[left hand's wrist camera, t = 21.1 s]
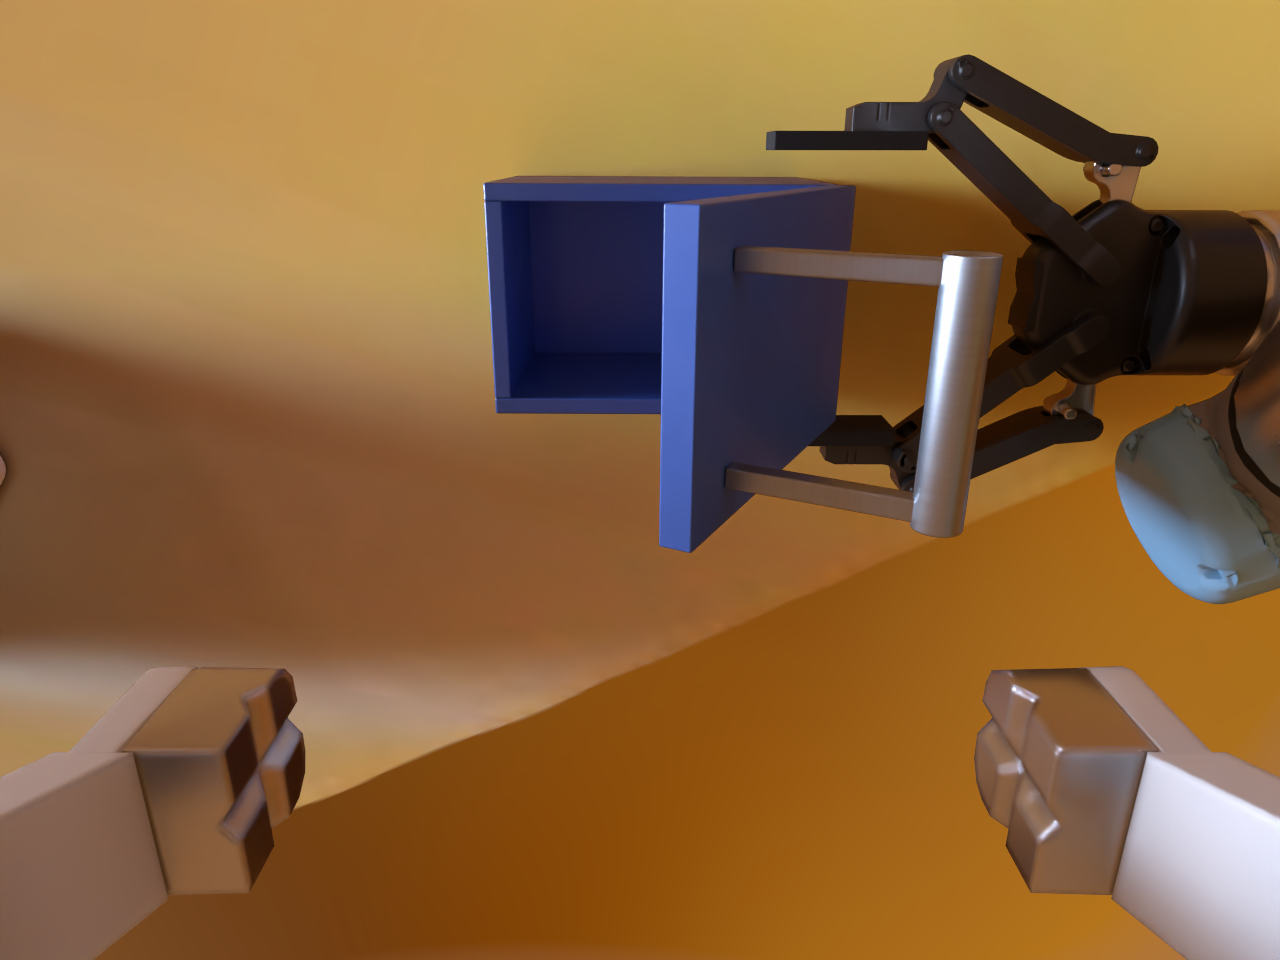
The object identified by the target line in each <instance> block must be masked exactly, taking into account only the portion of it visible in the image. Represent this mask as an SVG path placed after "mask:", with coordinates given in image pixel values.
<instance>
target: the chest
mask: <svg viewBox="0 0 1280 960" xmlns="http://www.w3.org/2000/svg"><path fill="white" fill-rule="evenodd" d="M826 185H837V184H831V183H826V182H820V181H814V180H808V179H803V178H797V177H630V176H515V177H510V178H505V179H501V180H496V181H491V182H486V183H484V185H483V186H484V200H485V203H484V204H485V222H486V241H487V259H488V277H489V295H490V313H491V331H492V350H493V368H494V386H495V397H496V399H495V404H496V413H534V414H661V385H662V313H663V242H664V204H665V203H671V202H680V201H689V200H698V199H708V198H717V197H726V196H735V195H744V194H753V193H762V192H772V191H781V190H790V189H799V188H808V187H817V186H826Z"/></svg>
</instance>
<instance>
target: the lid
mask: <svg viewBox="0 0 1280 960" xmlns="http://www.w3.org/2000/svg"><path fill="white" fill-rule="evenodd" d="M855 191H856V186H854V185H826V186H817V187H808V188H799V189H790V190H781V191H772V192H762V193H753V194H744V195H735V196H726V197H717V198H708V199H698V200H689V201H680V202H671V203H665V204H664V242H663V313H662V385H661V456H660V528H659V545H660V546H661V547H666V548H670V549H675V550H679V551H684V552H688V553H691V552H693V551H694V550H695V549H696V548H697V547H698V546H699V545H700V544H701V543H702V542H704V541H705V540H706V539H707V538H708V537H709V536H710V535H711V534H712V533H713V532H714V531H716V530H717V529H718V528H719V527H720V526H721V525H722V524H723V523H724V522H725V521H726V520H727V519H729V518H730V517H731V516H732V515H733V514H734V513H735V512H736V511H737V510H738V509H739V508H741V507H742V506H743V505H744V504H745V503H746V502H747V501H748V500H749V499H750V498H751V497H753V496H754V495H755V494H761V495H767V496H772V497H778V498H783V499H789V500H794V501H799V502H805V503H810V504H816V505H821V506H827V507H832V508H838V509H843V510H848V511H854V512H859V513H865V514H870V515H876V516H881V517H887V518H892V519H897V520H903V521H908V522H910V526H911V528H912V529H913V530H915V531H916V532H918V533H921V534H924V535H927V536H932V537H939V538H949V537H955V536H958V535H960V534H961V533H962V531H963V525H964V519H965V512H966V505H967V498H968V491H969V485H970V478H971V471H972V464H973V457H974V451H975V444H976V437H977V430H978V423H979V417H980V410H981V403H982V396H983V389H984V383H985V376H986V369H987V362H988V355H989V349H990V342H991V335H992V328H993V321H994V315H995V308H996V301H997V294H998V288H999V281H1000V274H1001V267H1002V260H1003V255H1002V254H1000V253H995V252H987V251H970V250H956V251H946V252H944V253H943V257H942V256H924V255H905V254H887V253H869V252H851V251H850V249H851V237H852V226H853V214H854V203H855ZM848 280H851V281H866V282H880V283H895V284H909V285H923V286H938V287H939V290H938V298H937V306H936V314H935V322H934V330H933V338H932V346H931V354H930V362H929V371H928V379H927V387H926V395H925V403H924V411H923V419H922V427H921V435H920V443H919V452H918V460H917V468H916V476H915V484H914V492H908V491H902V490H897V489H891V488H885V487H879V486H873V485H867V484H861V483H855V482H849V481H843V480H837V479H832V478H826V477H820V476H814V475H808V474H802V473H796V472H790V471H784V470H782V469H783V468H784V467H785V466H786V465H787V464H788V463H790V462H791V461H792V460H793V459H794V458H795V457H796V456H797V455H798V454H799V453H800V452H802V451H803V450H804V449H805V448H806V447H807V446H808V445H809V444H810V443H811V442H812V441H814V440H815V439H816V438H817V437H818V436H819V435H820V434H821V433H822V432H823V431H824V430H826V429H827V428H828V427H829V426H830V425H831V424H832V423H833V422H834V421H835V420H836V410H837V398H838V387H839V375H840V364H841V352H842V341H843V329H844V318H845V306H846V295H847V283H848Z"/></svg>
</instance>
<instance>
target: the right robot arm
mask: <svg viewBox="0 0 1280 960" xmlns="http://www.w3.org/2000/svg"><path fill="white" fill-rule="evenodd" d="M963 102H965V103H967V104H969V105H970V106H972V107H974V108H976V109H978V110H979V111H981V112H983V113H985V114H987V115H988V116H990V117H992V118H994V119H996V120H997V121H999V122H1001V123H1003V124H1005V125H1006V126H1008V127H1010V128H1012V129H1014V130H1015V131H1017V132H1019V133H1021V134H1023V135H1025V136H1026V137H1028V138H1030V139H1032V140H1034V141H1035V142H1037V143H1039V144H1041V145H1043V146H1044V147H1046V148H1048V149H1050V150H1052V151H1053V152H1055V153H1057V154H1059V155H1061V156H1063V157H1065V158H1067V159H1070V160H1074V161H1077V162H1083V163H1085V165H1084V167H1083V171H1084V175H1085V177H1086V179H1087V180H1088V181H1090V182H1092V183H1095V184H1096V185H1097V186H1098V187H1099V189H1100V199H1099V200H1096V201H1094V202H1092V203H1091V204H1089V205H1088V206H1086V207H1085V208H1083V209H1082V210H1080V211H1079V212H1077V213H1076V214H1074V215H1073V216H1071V215H1070V214H1069V213H1068V212H1067V211H1066V210H1065V209H1064V208H1062V207H1061V206H1059V205H1058V204H1056V203H1054V202H1053V201H1052V200H1051V199H1050V198H1049V197H1048V196H1047V195H1046V194H1045V193H1044V192H1043V191H1042V190H1041V189H1039V188H1038V187H1037V186H1036V185H1035V184H1034V183H1033V182H1032V181H1031V180H1030V179H1029V178H1028V177H1027V176H1026V175H1025V174H1024V173H1023V172H1022V171H1021V170H1020V169H1019V168H1018V167H1017V166H1016V165H1015V164H1014V163H1013V162H1012V161H1011V160H1010V159H1009V158H1008V157H1007V156H1006V155H1005V154H1004V153H1003V152H1002V151H1001V150H1000V149H999V148H998V147H997V146H996V145H995V144H994V143H993V142H992V141H991V140H990V139H989V138H988V137H987V136H986V135H985V134H984V133H983V132H982V131H981V130H980V129H979V128H978V127H977V126H976V125H975V124H974V123H973V122H972V121H971V120H970V119H969V118H968V117H967V116H966V115H965V114H964V113H963V112H962V111H961V110H960V108H961V106H962V104H963ZM928 140H929V141H930V142H931V143H932V144H933V145H934V146H935V147H936V148H937V149H938V150H939V151H940V152H941V153H942V154H943V155H944V156H945V157H946V158H947V159H948V160H949V161H950V162H951V163H952V164H953V165H955V166H956V167H957V168H958V169H959V170H960V171H961V172H962V173H963V174H964V175H965V176H966V177H967V178H968V179H969V180H970V181H971V182H972V183H973V184H974V185H975V186H976V187H977V188H978V189H979V190H980V191H981V192H982V193H983V194H984V195H985V196H987V197H988V198H989V199H990V200H991V201H992V202H993V203H994V204H995V205H996V206H997V207H998V208H999V209H1000V210H1001V211H1002V212H1003V213H1004V214H1005V215H1006V216H1007V217H1008V218H1009V219H1010V220H1011V223H1012V225H1013V226H1014V227H1015V228H1016V229H1017V230H1018V231H1019V232H1020V233H1021V234H1022V235H1023V236H1024V237H1025V238H1026V239H1028V240H1029V241H1030V242H1031V243H1032V244H1031V245H1030V246H1029V247H1028V248H1027V250H1026V251H1025V253H1024V255H1023V257H1022V258H1018V259H1017V266H1016V272H1015V276H1016V285H1017V292H1016V295H1015V297H1014V300H1013V302H1012V304H1011V307H1010V313H1009V319H1008V323H1009V324H1011V325H1012V328H1013V332H1014V334H1015V335H1014V336H1012V337H1011V338H1009V339H1008V340H1007V341H1005V342H1004V343H1002V344H1001V345H1000V346H998V347H997V348H996V349H995V350H994V351H993V352H992V355H991V356H990V358H988V362H987V369H986V376H985V383H984V389H983V396H982V403H981V410H980V417H979V418H981V417H982V416H984V415H985V414H986V413H988V412H989V411H991V410H992V409H993V408H995V407H996V406H998V405H999V404H1001V403H1002V402H1003V401H1005V400H1006V399H1008V398H1009V397H1011V396H1012V395H1013V394H1015V393H1016V392H1018V391H1019V390H1021V389H1022V388H1025V387H1030V386H1033V385H1035V384H1037V383H1039V382H1040V381H1042V380H1043V379H1044V378H1046V377H1047V376H1049V375H1050V374H1052V373H1053V372H1054V371H1056V372H1058V373H1059V374H1060V375H1061V376H1063V377H1064V378H1066V379H1067V384H1066V386H1065V388H1064V389H1063V390H1062V391H1060V392H1059V393H1057V394H1054V395H1051V396H1048V397H1046V398H1045V399H1044V402H1043V403H1044V406H1039V407H1034V408H1030V409H1026V410H1023V411H1021V412H1018V413H1016V414H1013V415H1011V416H1009V417H1006V418H1004V419H1002V420H999V421H997V422H994V423H992V424H990V425H987V426H985V427H983V428H980V429H978V430H977V437H976V444H975V451H974V457H973V464H972V471H971V478H970V479H972V478H975V477H977V476H980V475H982V474H984V473H987V472H989V471H992V470H994V469H996V468H999V467H1001V466H1003V465H1006V464H1008V463H1011V462H1013V461H1015V460H1018V459H1020V458H1023V457H1025V456H1027V455H1030V454H1032V453H1035V452H1037V451H1039V450H1042V449H1044V448H1047V447H1049V446H1051V445H1054V444H1061V443H1072V442H1084V441H1091V440H1095V439H1096V438H1098V437H1099V436H1100V435H1101V433H1102V431H1103V423H1102V421H1101V420H1100V419H1098V418H1097V417H1095V416H1094V404H1095V393H1096V384H1097V383H1099V382H1101V381H1103V380H1105V379H1107V378H1110V377H1113V376H1117V375H1208V374H1211V373H1214V372H1215V373H1217V374H1220V375H1236V376H1235V377H1234V379H1233V380H1232V381H1231V383H1230V384H1229V386H1228V387H1227V388H1226V389H1225V390H1224V391H1222V392H1220V393H1219V394H1217V395H1215V396H1214V397H1212V398H1210V399H1207V400H1204V401H1202V402H1199V403H1196V404H1192V405H1189V406H1187V405H1185V404H1184V405H1182V406H1178V407H1175V408H1174V410H1173V411H1172V412H1171V413H1169V414H1167V415H1165V416H1163V417H1160V418H1158V419H1156V420H1154V421H1152V422H1150V423H1148V424H1146V425H1144V426H1142V427H1139V428H1137V429H1136V430H1134V431H1132V432H1131V433H1130V434H1128V435H1127V436H1126V437H1125V438H1124V439H1123V441H1122V442H1121V444H1120V446H1119V448H1118V450H1117V454H1116V459H1115V477H1116V483H1117V488H1118V492H1119V496H1120V499H1121V502H1122V505H1123V508H1124V510H1125V513H1126V515H1127V518H1128V520H1129V522H1130V524H1131V526H1132V528H1133V530H1134V532H1135V534H1136V536H1137V537H1138V539H1139V541H1140V543H1141V544H1142V546H1143V547H1144V549H1145V551H1146V552H1147V554H1148V555H1149V557H1150V558H1151V560H1152V561H1153V562H1154V564H1155V565H1156V566H1157V567H1158V569H1159V570H1160V571H1161V572H1162V573H1163V574H1164V575H1165V576H1166V577H1167V578H1168V579H1169V580H1170V581H1171V582H1172V583H1173V584H1174V585H1175V586H1176V587H1177V588H1179V589H1180V590H1181V591H1183V592H1184V593H1186V594H1188V595H1190V596H1191V597H1193V598H1195V599H1198V600H1201V601H1204V602H1207V603H1213V604H1225V603H1231V602H1235V601H1238V600H1242V599H1245V598H1248V597H1251V596H1255V595H1258V594H1261V593H1265V592H1268V591H1271V590H1274V589H1278V588H1280V211H1275V210H1252V211H1241V212H1239V213H1234V212H1232V211H1227V210H1143V209H1141V208H1138V207H1137V206H1135V205H1134V204H1133V203H1131V201H1132V197H1133V194H1134V190H1135V186H1136V183H1137V179H1138V176H1139V172H1140V169H1141V167H1142V166H1147V165H1149V164H1151V163H1152V162H1153V161H1154V160H1155V158H1156V156H1157V154H1158V145H1157V142H1156V141H1155V140H1154V139H1153V138H1150V137H1144V136H1134V135H1125V134H1115V133H1109V132H1108V131H1106V130H1104V129H1102V128H1100V127H1099V126H1097V125H1095V124H1093V123H1092V122H1090V121H1088V120H1086V119H1085V118H1083V117H1081V116H1079V115H1077V114H1076V113H1074V112H1072V111H1070V110H1069V109H1067V108H1065V107H1063V106H1062V105H1060V104H1058V103H1056V102H1054V101H1053V100H1051V99H1049V98H1047V97H1046V96H1044V95H1042V94H1040V93H1038V92H1037V91H1035V90H1033V89H1031V88H1030V87H1028V86H1026V85H1024V84H1023V83H1021V82H1019V81H1017V80H1015V79H1014V78H1012V77H1010V76H1008V75H1007V74H1005V73H1003V72H1001V71H1000V70H998V69H996V68H994V67H992V66H991V65H989V64H987V63H985V62H984V61H982V60H980V59H978V58H977V57H975V56H972V55H963V56H960V57H956V58H953V59H950V60H946V61H944V62H942V63H940V64H939V65H938V66H937V68H936V69H935V72H934V81H933V83H932V85H931V88H930V90H929V92H928V94H927V95H926V96H925V98H924V99H922V100H921V101H920V102H864V103H860V104H856V105H854V106H852V107H849V108H847V109H846V120H845V131H772V132H767V139H766V150H927V143H928ZM923 411H924V405H923V406H922V407H920V408H919V409H918V410H916V411H915V412H913V413H912V414H911V415H909V416H908V417H907V418H905V419H904V420H902V421H901V422H900V423H898V424H897V425H895V426H894V427H892V426H891V425H890V424H889V423H888V422H887V421H886V420H885V419H884V418H883V416H882V415H836V420H835V421H834V422H833V423H832V424H831V425H830V426H829V427H828V428H827V429H826V430H824V431H823V432H822V433H821V434H820V435H819V436H818V437H817V438H816V439H815V440H814V441H812V442H811V443H810V444H809V445H808V446H820V453H821V454H822V456H823V458H824V459H825V460H826V461H828V462H831V463H833V464H885V465H888V466H889V468H890V471H891V473H890V476H891V479H892V481H893V482H894V484H895V485H896V486H897V487H898V489H899V490H902V491H908V492H914V484H915V476H916V468H917V460H918V452H919V443H920V435H921V427H922V419H923Z"/></svg>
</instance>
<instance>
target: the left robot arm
mask: <svg viewBox="0 0 1280 960" xmlns="http://www.w3.org/2000/svg"><path fill="white" fill-rule="evenodd" d="M5 474H6V466H5V463H4V461H3V459H2V457H1V455H0V486H1V484H2V482H3V480H4V478H5ZM296 702H297V697H296V692H295V687H294V682H293V677H292V676H291V675H290V674H289V673H288V672H287V671H286V670H285V669H272V668H222V667H201V668H198V667H157V668H153V669H149V670H147V671H146V672H145V673H144V674H143V675H142V676H141V677H140V678H139V679H138V680H137V681H136V682H135V683H134V684H133V685H132V687H131V688H130V689H129V690H128V691H127V692H126V693H125V694H124V695H123V696H122V697H121V698H120V699H119V700H118V701H117V702H116V703H115V704H114V705H113V706H112V707H111V708H110V709H109V710H108V712H107V713H106V714H105V715H104V716H103V717H102V718H101V719H100V720H99V721H98V722H97V723H96V724H95V725H94V726H93V727H92V728H91V729H90V730H89V731H88V732H87V733H86V734H85V735H84V737H83V738H82V739H81V740H80V741H79V742H78V743H77V744H76V745H75V746H74V747H73V748H72V749H71V750H70V751H69V752H54V753H52V754H49V755H47V756H45V757H43V758H41V759H39V760H37V761H34V762H32V763H30V764H28V765H26V766H24V767H22V768H19V769H17V770H15V771H13V772H11V773H9V774H7V775H4V776H2V777H0V960H94V959H95V958H96V957H97V956H99V955H100V954H101V953H102V952H104V951H105V950H106V949H107V948H109V947H110V946H111V945H112V944H114V943H115V942H116V941H117V940H119V939H120V938H121V937H122V936H123V935H125V934H126V933H127V932H128V931H130V930H131V929H132V928H133V927H135V926H136V925H137V924H138V923H140V922H141V921H142V920H143V919H145V918H146V917H147V916H148V915H149V914H151V913H152V912H153V911H154V910H156V909H157V908H158V907H159V906H161V905H162V904H163V903H164V902H166V901H167V900H168V895H187V894H222V893H249V892H250V890H251V888H252V886H253V885H254V883H255V881H256V879H257V877H258V875H259V873H260V872H261V870H262V868H263V866H264V864H265V862H266V860H267V858H268V857H269V855H270V853H271V851H272V849H273V847H274V841H273V836H272V830H271V829H272V828H273V827H275V826H276V825H278V824H279V823H281V822H282V821H283V820H285V819H286V818H288V817H289V816H290V815H291V813H292V811H293V809H294V807H295V805H296V803H297V801H298V799H299V796H300V792H301V787H302V783H303V779H304V774H305V746H304V740H303V733H302V732H301V731H300V730H299V729H298V728H297V727H296V726H295V725H294V724H293V723H292V722H291V721H290V720H289V719H288V718H287V717H288V715H289V714H290V712H291V711H292V709H293V707H294V706H295V704H296ZM983 702H984V704H985V706H986V707H987V709H988V710H989V712H990V714H991V715H992V717H993V718H992V719H991V720H990V721H989V722H988V723H987V724H986V725H985V726H984V727H983V728H982V729H981V730H980V731H979V732H978V733H977V741H976V749H975V757H974V760H975V770H976V781H977V785H978V788H979V792H980V795H981V798H982V801H983V803H984V805H985V807H986V809H987V811H988V813H989V815H990V816H991V817H992V818H994V819H995V820H997V821H998V822H999V823H1001V824H1002V825H1004V826H1005V827H1007V828H1008V829H1009V830H1008V836H1007V841H1006V847H1007V849H1008V851H1009V853H1010V855H1011V857H1012V858H1013V860H1014V862H1015V864H1016V866H1017V868H1018V870H1019V871H1020V873H1021V875H1022V877H1023V879H1024V881H1025V883H1026V884H1027V886H1028V888H1029V890H1030V892H1031V893H1056V894H1093V895H1112V900H1114V901H1115V902H1116V903H1117V904H1119V905H1120V906H1121V907H1122V908H1124V909H1125V910H1126V911H1127V912H1128V913H1130V914H1131V915H1132V916H1133V917H1135V918H1136V919H1137V920H1138V921H1140V922H1141V923H1142V924H1143V925H1144V926H1146V927H1147V928H1148V929H1149V930H1151V931H1152V932H1153V933H1154V934H1156V935H1157V936H1158V937H1159V938H1161V939H1162V940H1163V941H1164V942H1166V943H1167V944H1168V945H1169V946H1170V947H1172V948H1173V949H1174V950H1175V951H1177V952H1178V953H1179V954H1180V955H1182V956H1183V957H1184V958H1185V959H1187V960H1280V777H1277V776H1275V775H1273V774H1271V773H1269V772H1267V771H1265V770H1263V769H1261V768H1258V767H1256V766H1254V765H1252V764H1250V763H1248V762H1246V761H1243V760H1241V759H1239V758H1237V757H1235V756H1233V755H1231V754H1228V753H1226V752H1211V751H1210V750H1209V749H1208V748H1207V747H1206V746H1205V745H1204V744H1203V743H1202V742H1201V741H1200V740H1199V739H1198V737H1197V736H1196V735H1195V734H1194V733H1193V732H1192V731H1191V730H1190V729H1189V728H1188V727H1187V726H1186V725H1185V724H1184V723H1183V722H1182V721H1181V720H1180V719H1179V718H1178V717H1177V716H1176V715H1175V714H1174V712H1173V711H1172V710H1171V709H1170V708H1169V707H1168V706H1167V705H1166V704H1165V703H1164V702H1163V701H1162V700H1161V699H1160V698H1159V697H1158V696H1157V695H1156V694H1155V693H1154V692H1153V691H1152V690H1151V688H1150V687H1149V686H1148V685H1147V684H1146V683H1145V682H1144V681H1143V680H1142V679H1141V678H1140V677H1139V676H1138V675H1137V674H1136V673H1135V672H1134V671H1133V670H1130V669H1128V668H1125V667H1123V666H1114V667H1086V668H1064V669H1023V670H992V671H991V673H990V675H989V677H988V679H987V681H986V685H985V691H984V696H983Z"/></svg>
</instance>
